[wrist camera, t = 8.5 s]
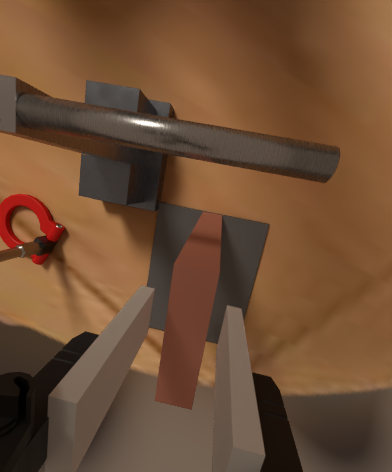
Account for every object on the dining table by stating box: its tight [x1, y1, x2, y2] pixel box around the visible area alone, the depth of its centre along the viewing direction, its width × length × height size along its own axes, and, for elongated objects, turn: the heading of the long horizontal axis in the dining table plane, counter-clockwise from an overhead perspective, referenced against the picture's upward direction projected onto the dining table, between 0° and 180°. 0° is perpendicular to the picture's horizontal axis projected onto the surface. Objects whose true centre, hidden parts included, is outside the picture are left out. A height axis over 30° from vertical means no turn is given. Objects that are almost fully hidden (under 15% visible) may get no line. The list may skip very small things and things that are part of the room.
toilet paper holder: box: [0, 75, 340, 211], centre depth 19 cm, size 12×20×18 cm, turn 79°
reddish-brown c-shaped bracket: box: [155, 212, 222, 409], centre depth 21 cm, size 10×2×17 cm, turn 170°
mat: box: [147, 202, 269, 344], centre depth 30 cm, size 18×14×1 cm
